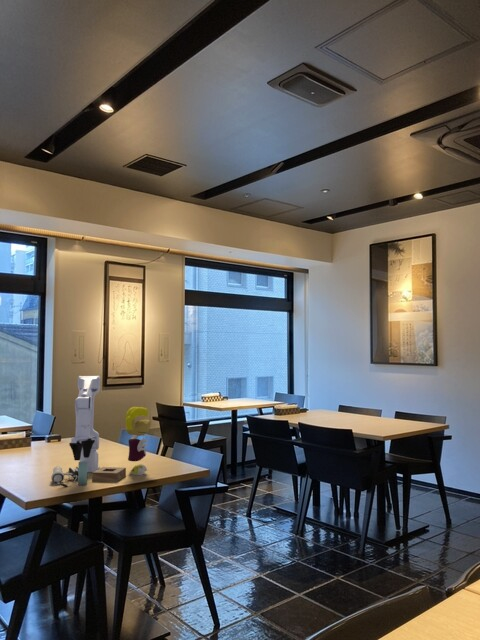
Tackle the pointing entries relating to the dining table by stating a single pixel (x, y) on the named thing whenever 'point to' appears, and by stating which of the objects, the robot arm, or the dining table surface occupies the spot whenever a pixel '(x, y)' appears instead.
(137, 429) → the toy
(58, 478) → the clip-on lamp
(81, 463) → the teal peg
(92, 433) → the robot arm
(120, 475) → the socket block
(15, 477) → the dining table surface
